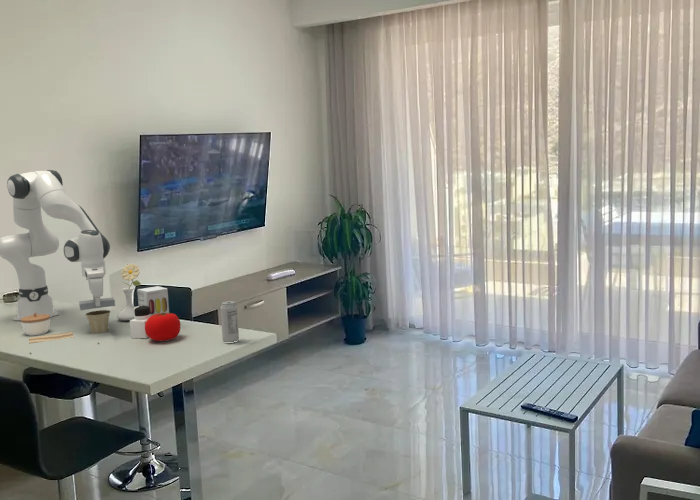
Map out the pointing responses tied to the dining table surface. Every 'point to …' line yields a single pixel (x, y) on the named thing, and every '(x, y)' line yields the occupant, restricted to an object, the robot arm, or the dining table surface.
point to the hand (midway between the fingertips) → (97, 304)
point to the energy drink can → (229, 321)
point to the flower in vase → (129, 291)
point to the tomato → (162, 326)
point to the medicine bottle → (139, 322)
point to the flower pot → (98, 320)
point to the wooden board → (51, 337)
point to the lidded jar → (36, 324)
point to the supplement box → (154, 299)
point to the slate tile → (91, 305)
